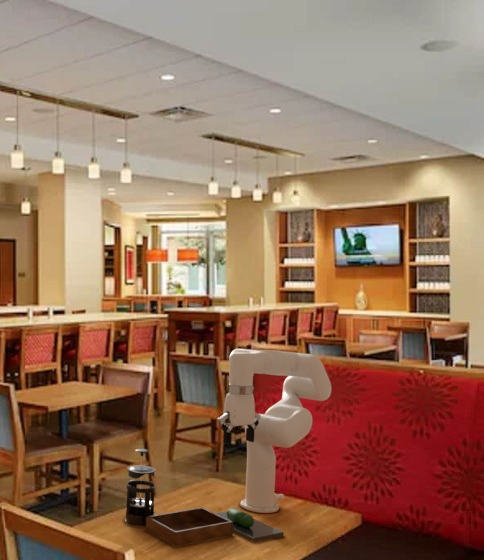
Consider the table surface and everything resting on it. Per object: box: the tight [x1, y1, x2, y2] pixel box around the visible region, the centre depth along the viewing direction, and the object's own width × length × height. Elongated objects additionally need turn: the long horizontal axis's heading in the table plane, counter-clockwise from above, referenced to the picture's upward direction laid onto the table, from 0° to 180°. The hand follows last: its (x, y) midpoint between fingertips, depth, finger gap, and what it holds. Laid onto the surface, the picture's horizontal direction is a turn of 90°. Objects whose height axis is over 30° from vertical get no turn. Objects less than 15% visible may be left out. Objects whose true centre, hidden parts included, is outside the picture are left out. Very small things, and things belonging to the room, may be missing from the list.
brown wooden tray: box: [145, 506, 234, 547], centre depth 220 cm, size 22×15×4 cm
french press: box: [124, 448, 157, 527], centre depth 229 cm, size 12×9×23 cm
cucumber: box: [227, 507, 255, 528], centre depth 226 cm, size 4×10×4 cm
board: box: [214, 510, 285, 543], centre depth 227 cm, size 12×22×2 cm, turn 29°
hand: (238, 442), depth 237 cm, fingers open, 9 cm apart
